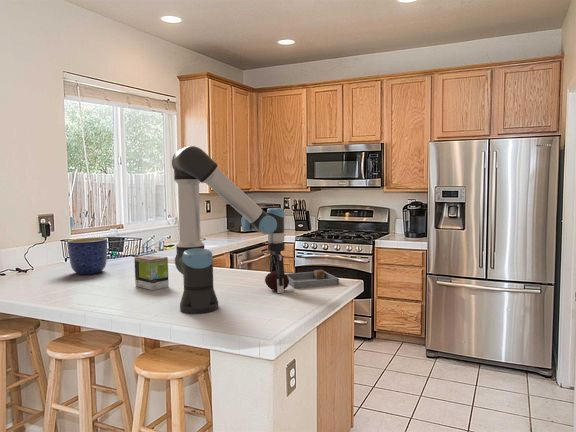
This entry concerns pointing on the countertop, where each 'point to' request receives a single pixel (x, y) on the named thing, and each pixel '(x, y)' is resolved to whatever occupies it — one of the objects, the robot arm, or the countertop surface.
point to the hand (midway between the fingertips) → (277, 290)
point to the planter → (88, 254)
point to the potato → (275, 280)
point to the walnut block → (318, 274)
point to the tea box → (151, 272)
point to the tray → (311, 280)
